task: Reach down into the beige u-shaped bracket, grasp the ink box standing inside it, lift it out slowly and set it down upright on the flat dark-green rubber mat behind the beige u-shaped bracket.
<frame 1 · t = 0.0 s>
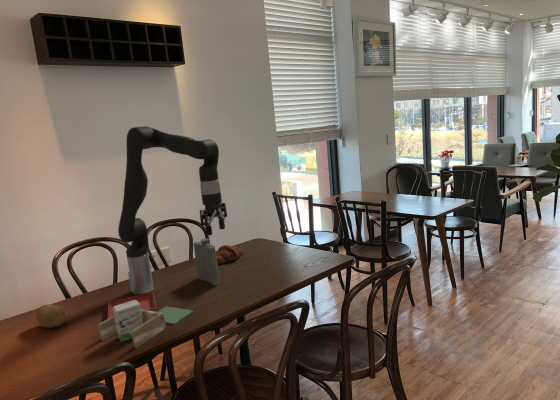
hand: (216, 232, 170), 29 cm above the table, fingers open, 8 cm apart
ink box: (131, 336, 154), on the table
plant saucer: (133, 312, 175), on the table
hip flask: (209, 281, 200), on the table
mat: (170, 315, 167), on the table
potato: (53, 326, 168), on the table
beige u-shaped bracket: (133, 334, 154), on the table
pastry: (228, 259, 230), on the table
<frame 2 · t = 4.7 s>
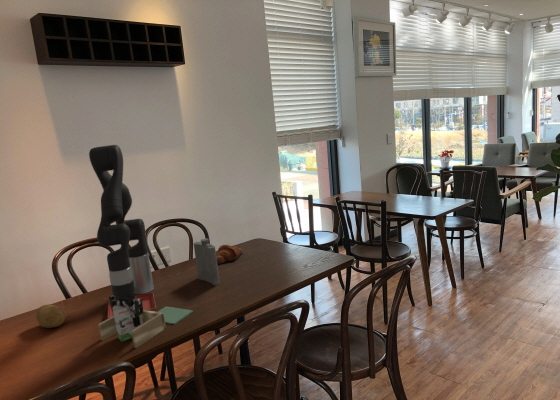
hand: (129, 324, 153), 4 cm above the table, fingers closed on ink box, 6 cm apart
ink box: (131, 336, 154), on the table, touching gripper
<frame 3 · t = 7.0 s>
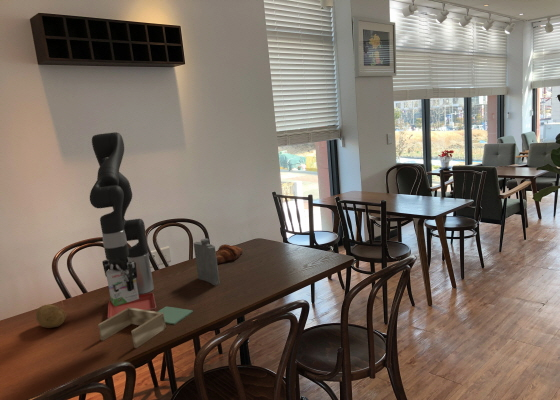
hand: (123, 289, 150), 18 cm above the table, fingers closed on ink box, 6 cm apart
ink box: (125, 301, 151), point 13 cm above the table, touching gripper
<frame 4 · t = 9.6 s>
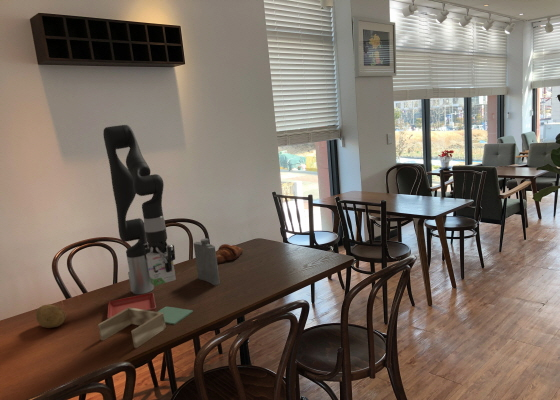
hand: (161, 270, 163), 19 cm above the table, fingers closed on ink box, 6 cm apart
ink box: (163, 281, 164), point 14 cm above the table, touching gripper
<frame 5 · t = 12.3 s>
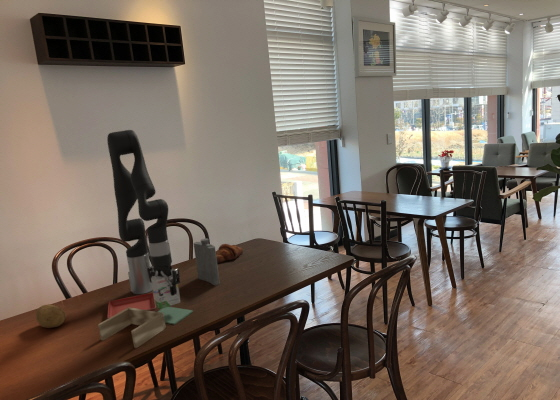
hand: (166, 293, 165), 9 cm above the table, fingers closed on ink box, 6 cm apart
ink box: (168, 304, 166), point 5 cm above the table, touching gripper
when the fingers open (6 cm above the table, at t = 14.5 s): ink box stays where it is, resting on mat.
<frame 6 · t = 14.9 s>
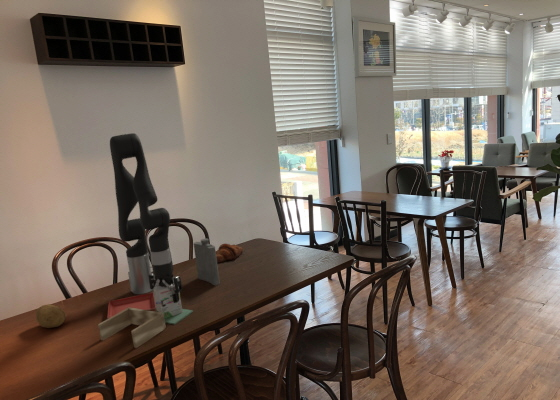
hand: (167, 300, 166), 6 cm above the table, fingers open, 8 cm apart
ink box: (170, 314, 167), resting on mat
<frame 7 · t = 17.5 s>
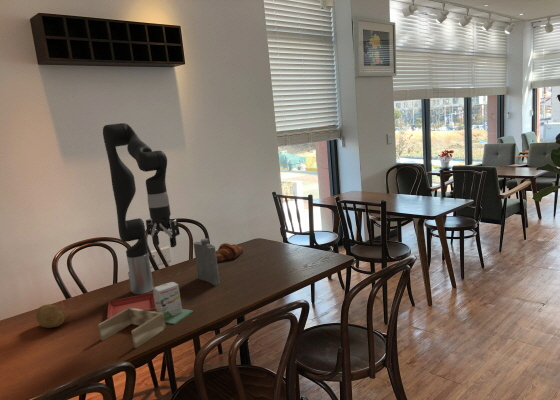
hand: (165, 246, 164), 27 cm above the table, fingers open, 8 cm apart
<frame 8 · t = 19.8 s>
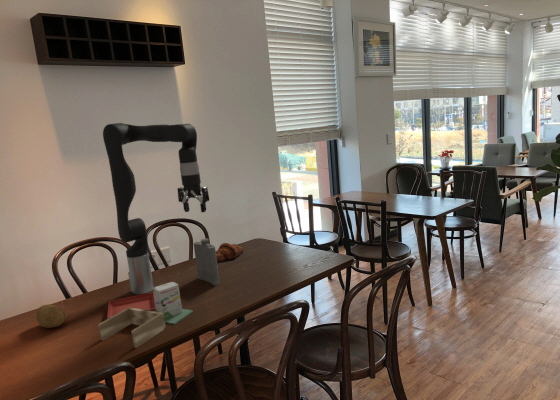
hand: (195, 211, 179), 36 cm above the table, fingers open, 8 cm apart
at the end: ink box inside the target area on the mat (0.1 cm from its centre), point 0.3 cm above the mat's base; the gripper is holding nothing; ink box touching mat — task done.
